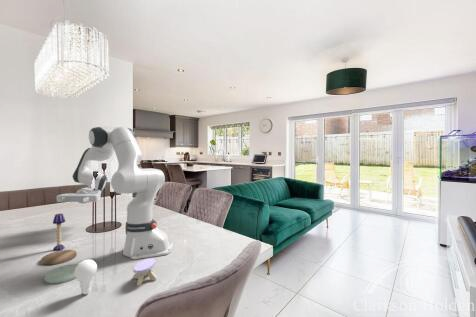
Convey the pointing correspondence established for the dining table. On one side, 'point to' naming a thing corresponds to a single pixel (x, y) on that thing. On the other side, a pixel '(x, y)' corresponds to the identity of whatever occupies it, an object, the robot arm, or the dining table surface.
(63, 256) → the walnut coaster
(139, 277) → the toy table
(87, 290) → the lightbulb
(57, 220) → the toy lamp
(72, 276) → the sage coaster
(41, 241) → the dining table surface
